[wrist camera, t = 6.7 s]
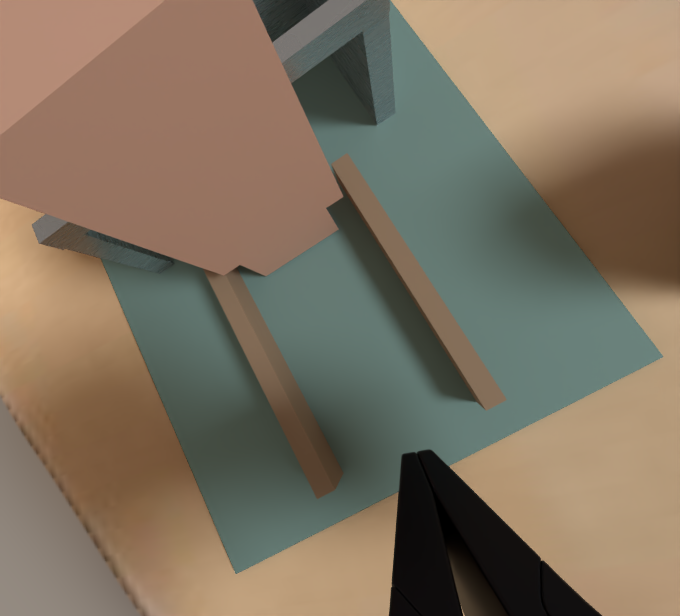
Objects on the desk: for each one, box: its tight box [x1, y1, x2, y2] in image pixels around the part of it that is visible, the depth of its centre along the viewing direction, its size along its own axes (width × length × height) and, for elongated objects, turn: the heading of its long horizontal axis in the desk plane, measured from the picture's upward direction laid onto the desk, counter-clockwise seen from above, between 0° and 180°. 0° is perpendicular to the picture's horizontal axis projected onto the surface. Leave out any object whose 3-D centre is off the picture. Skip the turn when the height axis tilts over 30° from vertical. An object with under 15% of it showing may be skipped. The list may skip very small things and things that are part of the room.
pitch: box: [101, 1, 663, 574], centre depth 18 cm, size 28×24×2 cm
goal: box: [32, 0, 395, 274], centre depth 17 cm, size 9×17×7 cm, turn 120°
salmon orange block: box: [0, 0, 343, 276], centre depth 13 cm, size 4×7×13 cm, turn 120°
